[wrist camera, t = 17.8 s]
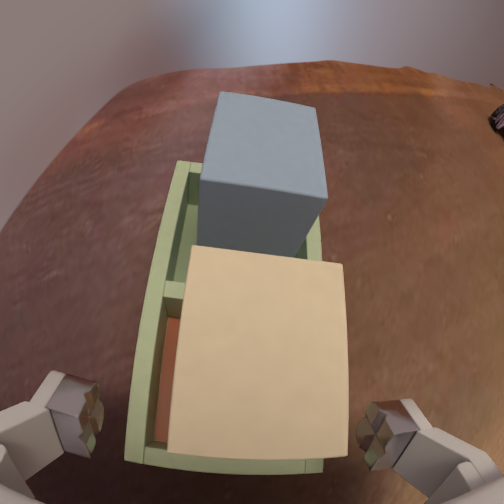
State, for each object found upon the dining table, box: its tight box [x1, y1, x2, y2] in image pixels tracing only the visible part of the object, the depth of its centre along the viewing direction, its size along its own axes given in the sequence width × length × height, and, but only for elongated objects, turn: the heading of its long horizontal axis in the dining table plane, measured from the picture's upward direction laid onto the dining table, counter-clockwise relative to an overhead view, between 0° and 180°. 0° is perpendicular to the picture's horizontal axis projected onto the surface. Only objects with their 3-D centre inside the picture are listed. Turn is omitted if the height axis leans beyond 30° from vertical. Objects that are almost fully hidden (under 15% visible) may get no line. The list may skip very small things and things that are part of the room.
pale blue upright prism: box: [196, 91, 328, 258], centre depth 15 cm, size 4×5×9 cm
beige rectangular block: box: [167, 245, 349, 460], centre depth 11 cm, size 4×5×9 cm
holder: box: [124, 161, 324, 475], centre depth 16 cm, size 8×15×4 cm, turn 177°
